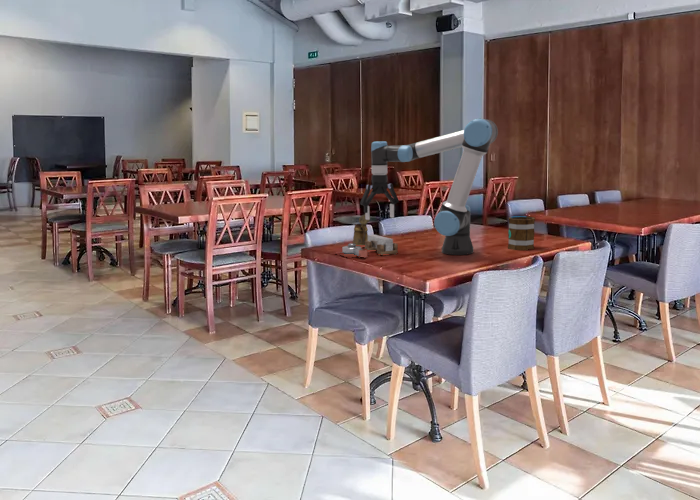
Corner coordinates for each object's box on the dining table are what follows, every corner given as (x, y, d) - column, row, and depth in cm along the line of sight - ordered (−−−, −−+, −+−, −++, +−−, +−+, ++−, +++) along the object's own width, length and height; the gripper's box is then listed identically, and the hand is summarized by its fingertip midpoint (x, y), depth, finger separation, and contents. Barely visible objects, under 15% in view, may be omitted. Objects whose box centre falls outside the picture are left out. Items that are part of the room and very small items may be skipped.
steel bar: (392, 250, 310) (392, 239, 309) (385, 251, 308) (385, 239, 307) (374, 245, 325) (374, 234, 324) (367, 246, 323) (367, 235, 322)
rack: (397, 254, 311) (397, 243, 311) (381, 256, 307) (381, 245, 306) (380, 249, 325) (380, 239, 324) (364, 251, 321) (364, 241, 320)
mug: (539, 249, 316) (540, 219, 313) (512, 251, 314) (513, 220, 311) (523, 243, 335) (524, 214, 332) (498, 244, 333) (499, 215, 330)
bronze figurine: (357, 249, 325) (357, 214, 322) (349, 245, 338) (349, 211, 335) (374, 248, 328) (374, 213, 325) (366, 244, 340) (365, 210, 337)
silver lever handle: (339, 252, 313) (339, 243, 312) (355, 251, 317) (355, 241, 316) (355, 258, 298) (355, 248, 298) (372, 256, 302) (372, 246, 302)
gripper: (397, 172, 318) (397, 215, 322) (352, 175, 307) (353, 219, 311) (405, 173, 311) (406, 217, 315) (360, 175, 300) (360, 221, 304)
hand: (379, 218), depth 313 cm, fingers open, 13 cm apart
